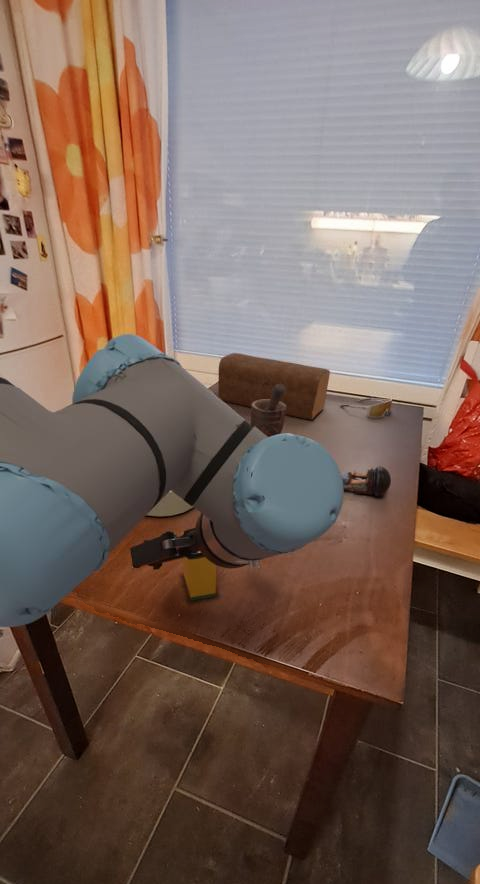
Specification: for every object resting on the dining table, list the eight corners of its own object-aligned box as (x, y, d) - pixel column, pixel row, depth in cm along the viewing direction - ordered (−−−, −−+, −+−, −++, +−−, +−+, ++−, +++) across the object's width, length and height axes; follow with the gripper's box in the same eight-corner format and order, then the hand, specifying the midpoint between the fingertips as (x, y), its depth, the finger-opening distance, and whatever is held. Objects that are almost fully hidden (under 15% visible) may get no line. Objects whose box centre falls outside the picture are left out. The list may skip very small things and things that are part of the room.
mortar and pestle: (294, 461, 108) (305, 382, 96) (267, 468, 103) (275, 387, 92) (267, 444, 115) (275, 369, 103) (241, 450, 111) (246, 373, 99)
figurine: (393, 471, 89) (308, 464, 94) (388, 501, 91) (306, 493, 96) (392, 464, 96) (313, 459, 101) (388, 493, 98) (311, 486, 103)
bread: (312, 422, 131) (320, 375, 123) (216, 400, 142) (217, 356, 134) (324, 409, 142) (332, 365, 133) (234, 390, 152) (236, 348, 144)
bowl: (112, 514, 83) (108, 488, 80) (135, 476, 96) (133, 452, 93) (193, 522, 83) (193, 496, 79) (205, 482, 96) (205, 458, 93)
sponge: (190, 601, 65) (190, 556, 60) (183, 576, 70) (182, 532, 65) (215, 596, 66) (217, 552, 61) (206, 572, 71) (207, 529, 66)
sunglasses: (374, 421, 135) (376, 405, 132) (336, 413, 144) (337, 398, 142) (398, 412, 143) (400, 397, 140) (360, 406, 153) (361, 391, 150)
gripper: (111, 586, 37) (117, 593, 57) (357, 546, 44) (284, 565, 64) (100, 504, 38) (109, 539, 58) (342, 478, 45) (275, 517, 65)
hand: (201, 553), depth 61 cm, fingers open, 13 cm apart
